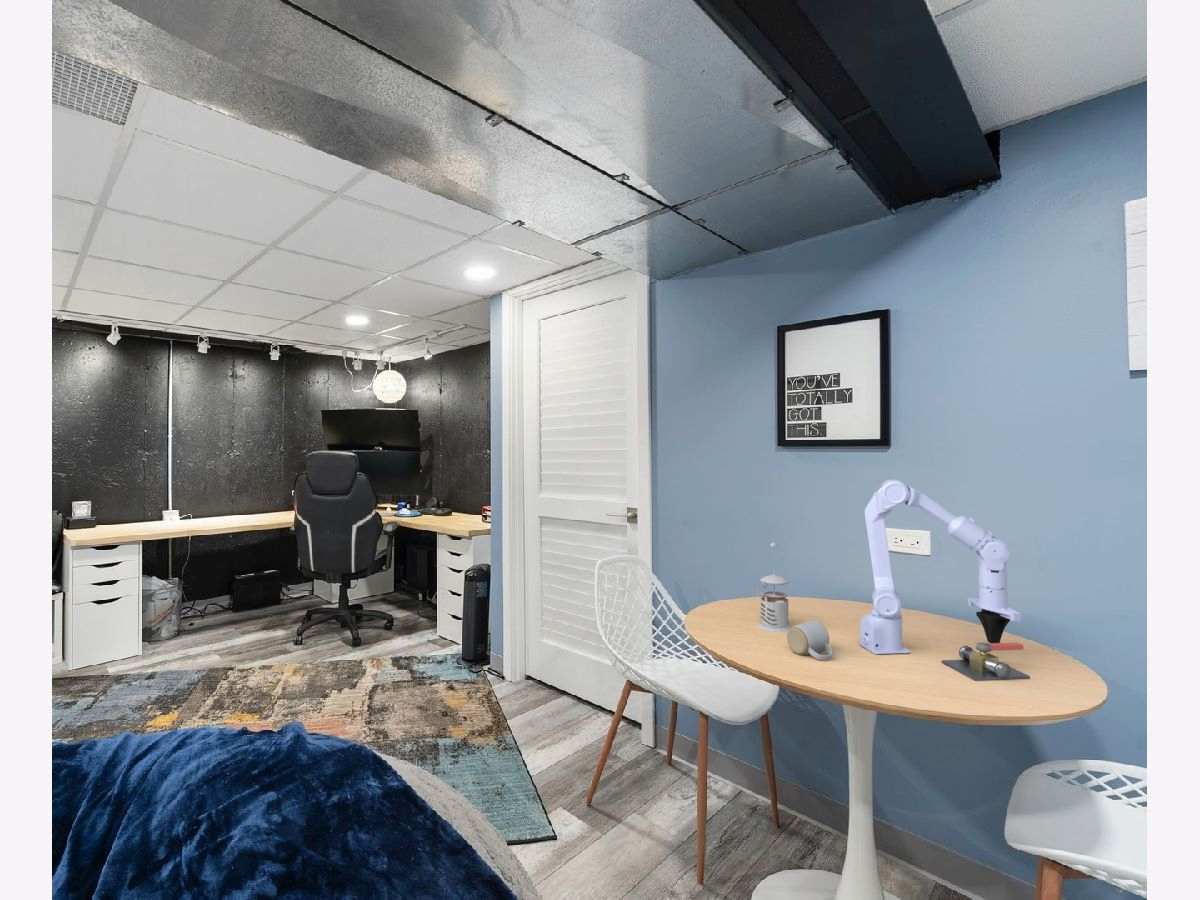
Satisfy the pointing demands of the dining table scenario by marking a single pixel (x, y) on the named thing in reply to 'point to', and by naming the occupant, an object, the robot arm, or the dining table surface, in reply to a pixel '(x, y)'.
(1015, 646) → the valve lever
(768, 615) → the french press
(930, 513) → the robot arm
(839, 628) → the dining table surface
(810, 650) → the ceramic mug
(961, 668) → the valve assembly
